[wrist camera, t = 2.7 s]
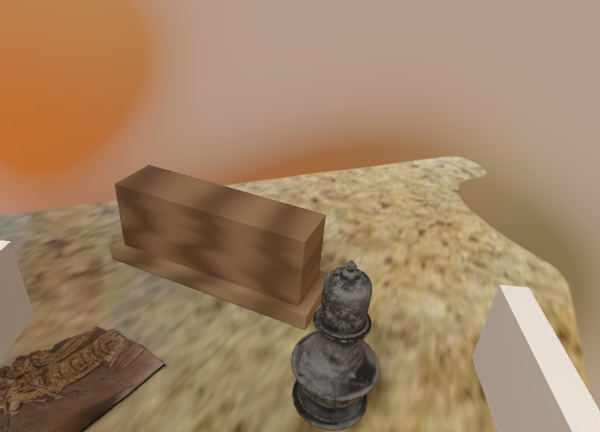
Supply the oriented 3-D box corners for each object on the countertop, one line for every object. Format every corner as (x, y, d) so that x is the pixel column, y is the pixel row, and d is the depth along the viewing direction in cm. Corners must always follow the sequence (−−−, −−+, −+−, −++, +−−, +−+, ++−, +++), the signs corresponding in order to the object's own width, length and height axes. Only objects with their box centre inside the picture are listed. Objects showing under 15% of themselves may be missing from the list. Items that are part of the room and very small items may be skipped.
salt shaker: (287, 362, 34) (298, 230, 28) (363, 362, 35) (391, 233, 28) (289, 435, 29) (303, 294, 23) (378, 434, 30) (416, 297, 23)
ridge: (112, 258, 43) (99, 184, 39) (153, 228, 48) (145, 159, 44) (304, 329, 37) (313, 251, 33) (329, 287, 42) (340, 213, 38)
